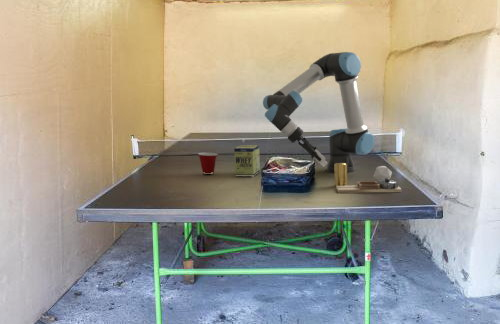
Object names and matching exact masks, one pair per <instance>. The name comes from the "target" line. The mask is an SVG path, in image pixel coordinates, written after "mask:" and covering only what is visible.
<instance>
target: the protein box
mask: <svg viewBox="0 0 500 324" xmlns="http://www.w3.org/2000/svg"><path fill="white" fill-rule="evenodd" d="M233 150H234V152H233V153H234V155H233V156H234V176H235V175H255V174H256V173H257V172H259V171H260V172H261V169H260V168H261V166H260V162H261V161H260V145H259V144H240V145H239V146H236V147H235V148H234V149H233ZM260 172H259V173H260Z"/></svg>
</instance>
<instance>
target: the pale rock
mask: <svg viewBox="0 0 500 324" xmlns="http://www.w3.org/2000/svg"><path fill="white" fill-rule="evenodd" d="M392 175H393V172H392V170H391V169H389V168H388V167H387V166H385V165H380V166H376V168H375V171H374V174H373V176H372V177H373V178H374V179H375V181H377V182H378V181H379V180H380V181H381V180H385V178H390V179H391V177H392Z"/></svg>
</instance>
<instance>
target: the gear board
mask: <svg viewBox="0 0 500 324" xmlns="http://www.w3.org/2000/svg"><path fill="white" fill-rule="evenodd" d="M377 182H378V181H377V180H369V181H367V180H366V181H364V180H363V181H362V180H361V181H359V180H358V181H357V183H356V184H357V185H347V186H335V187H336V191H337V193H338V194H351V193H352V194H355V193H357V194H358V193H359V194H361V193H362V194H363V193H364V194H365V193H403V191H402V190H403V189H402V188H401V187H400V186H399V185H398V187H397V188H396V189H380V185H379V184H378V183H377Z"/></svg>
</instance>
